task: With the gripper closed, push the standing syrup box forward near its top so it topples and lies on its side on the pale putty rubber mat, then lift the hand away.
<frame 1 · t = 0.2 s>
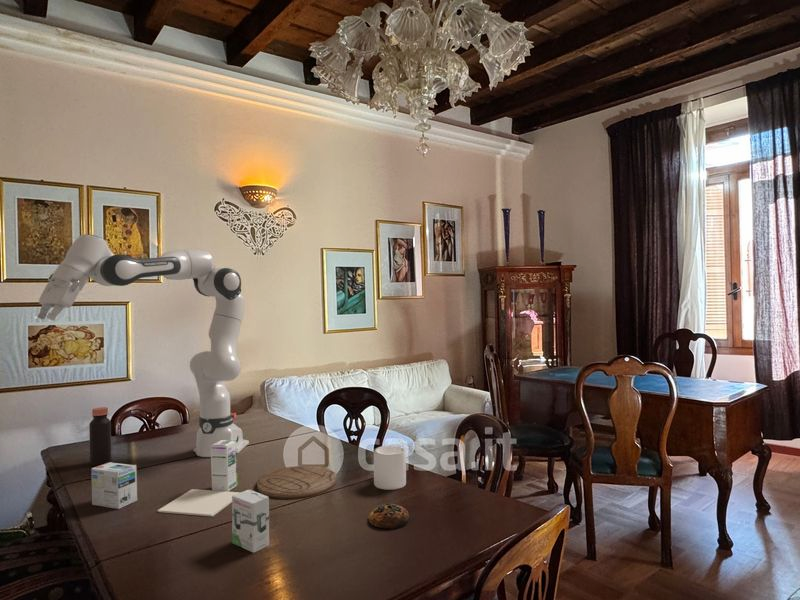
hand: (45, 318, 154), 54 cm above the table, fingers open, 8 cm apart
mat: (201, 502, 147), on the table
trivet: (297, 485, 162), on the table
ink box: (250, 545, 122), on the table
bottle: (100, 463, 185), on the table
light bulb box: (114, 503, 148), on the table
mug: (389, 482, 162), on the table
syrup box: (224, 489, 159), on the table
bread roll: (388, 521, 134), on the table
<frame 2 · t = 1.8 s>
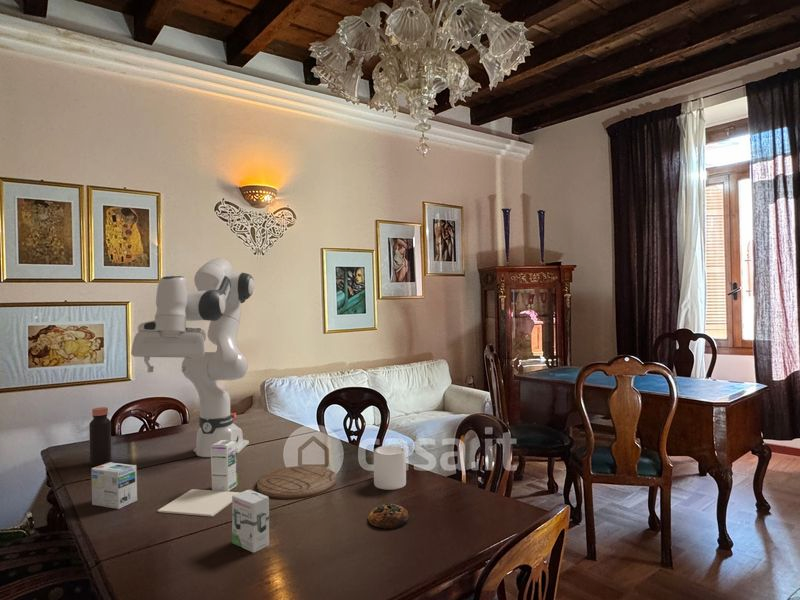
hand: (167, 372, 152), 38 cm above the table, fingers open, 8 cm apart
nothing on the table moved.
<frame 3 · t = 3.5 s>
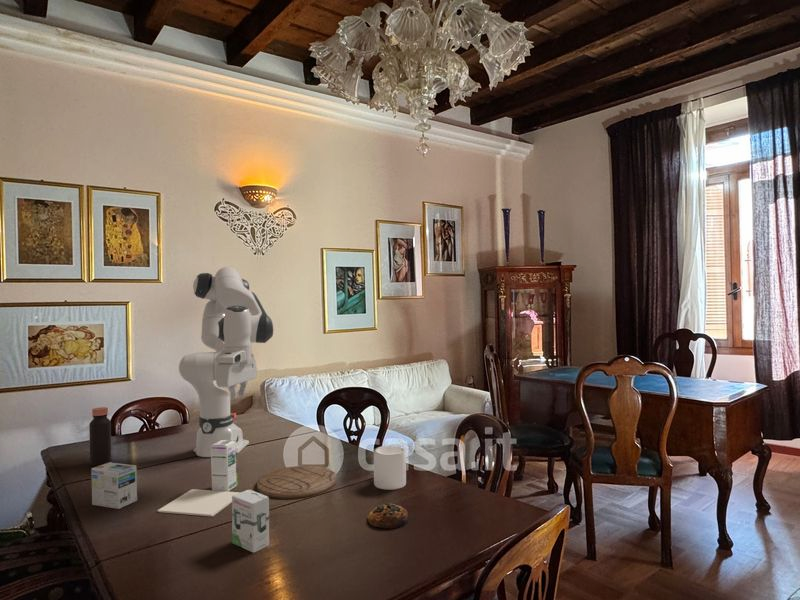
hand: (238, 396, 167), 27 cm above the table, fingers open, 3 cm apart
nothing on the table moved.
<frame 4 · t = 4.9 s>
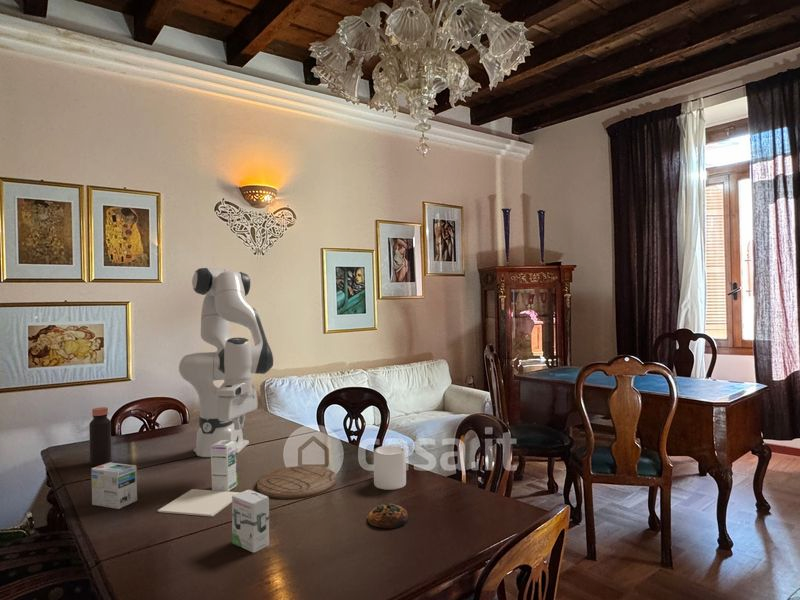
hand: (238, 428, 167), 16 cm above the table, fingers closed
nothing on the table moved.
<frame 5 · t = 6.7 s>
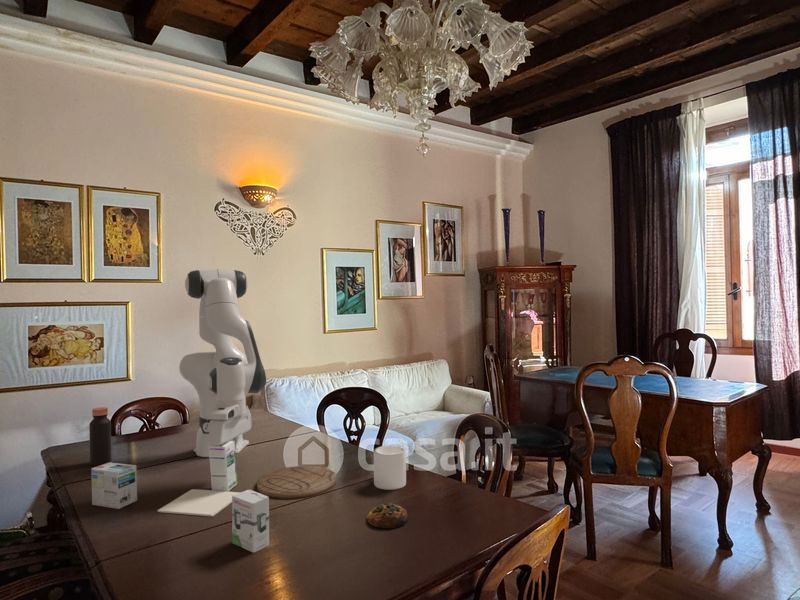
hand: (231, 451, 163), 10 cm above the table, fingers closed
syrup box: (224, 488, 159), on the table, touching gripper
everything else where it was.
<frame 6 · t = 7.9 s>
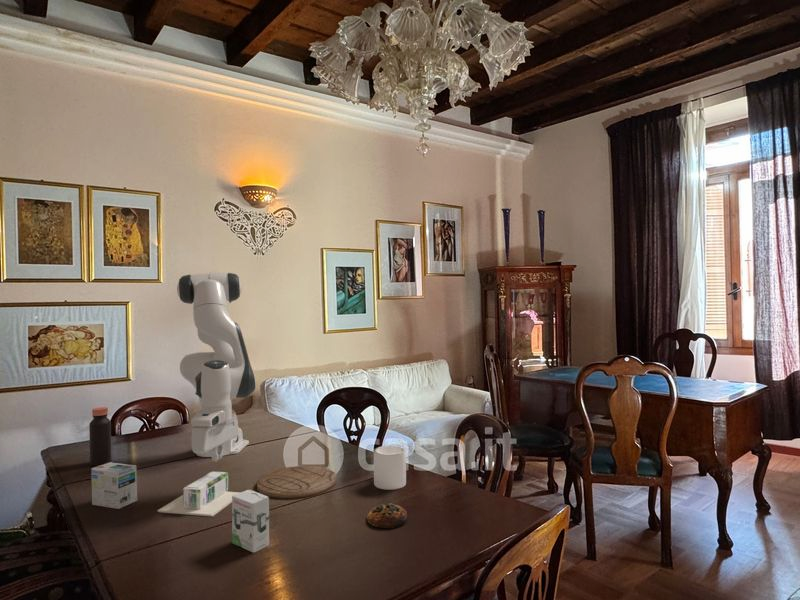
hand: (217, 459, 154), 10 cm above the table, fingers closed
syrup box: (220, 480, 156), point 3 cm above the table, touching mat
everything else where it was.
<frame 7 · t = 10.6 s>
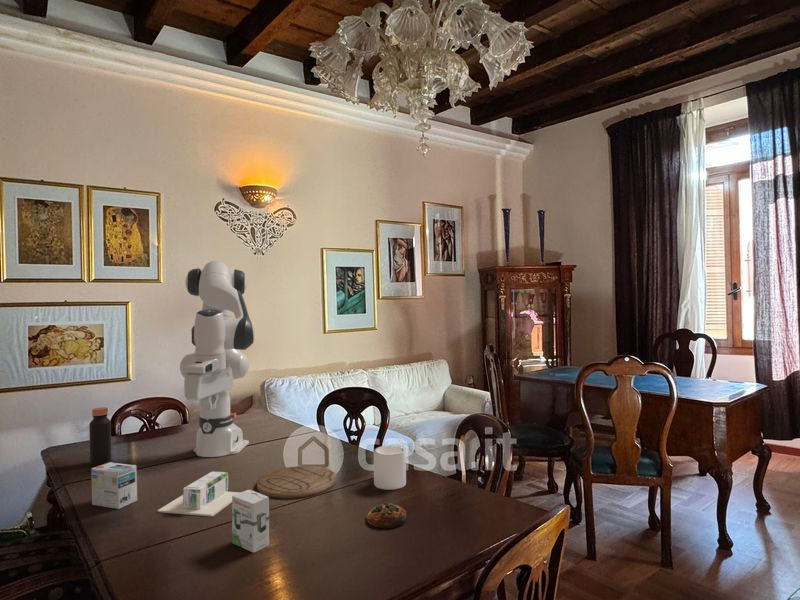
hand: (210, 409, 152), 26 cm above the table, fingers closed
nothing on the table moved.
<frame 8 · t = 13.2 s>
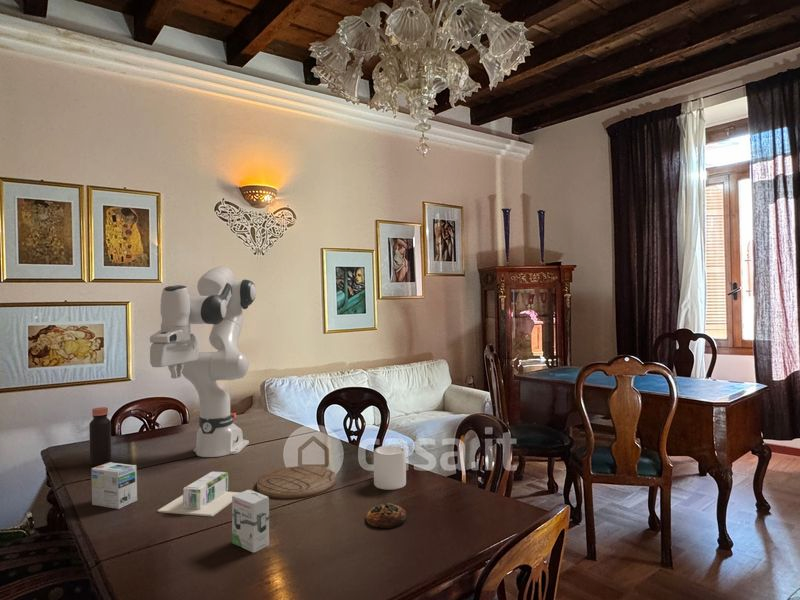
hand: (176, 377, 164), 34 cm above the table, fingers closed
nothing on the table moved.
at the end: syrup box tilted 90°; syrup box touching mat; syrup box inside the target area (2.6 cm from its centre), point 3.3 cm above the table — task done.
